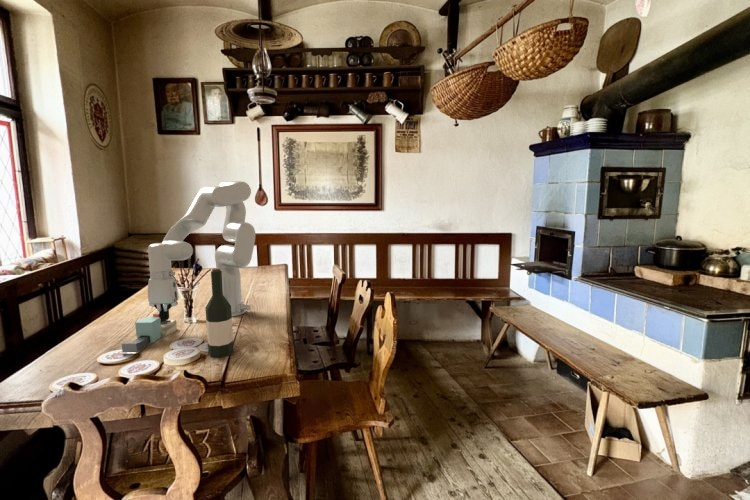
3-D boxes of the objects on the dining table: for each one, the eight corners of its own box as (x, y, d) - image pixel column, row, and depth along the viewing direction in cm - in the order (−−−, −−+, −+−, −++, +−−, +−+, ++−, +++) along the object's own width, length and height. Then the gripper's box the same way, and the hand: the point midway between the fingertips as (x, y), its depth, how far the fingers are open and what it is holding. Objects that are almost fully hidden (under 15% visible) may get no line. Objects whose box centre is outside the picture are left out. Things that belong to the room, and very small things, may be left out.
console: (176, 329, 166) (175, 318, 165) (167, 336, 158) (166, 324, 157) (152, 329, 165) (151, 318, 165) (141, 336, 158) (140, 324, 157)
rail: (162, 336, 157) (161, 326, 156) (137, 354, 140) (136, 343, 139) (149, 336, 157) (148, 326, 156) (122, 354, 140) (121, 343, 139)
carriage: (161, 336, 156) (160, 317, 154) (153, 342, 150) (151, 322, 148) (145, 336, 155) (144, 317, 154) (137, 342, 150) (135, 322, 148)
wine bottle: (218, 359, 136) (213, 272, 131) (203, 354, 140) (197, 269, 136) (238, 351, 143) (234, 267, 138) (223, 346, 147) (218, 265, 143)
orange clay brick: (160, 321, 162) (159, 313, 161) (158, 322, 160) (158, 314, 160) (155, 321, 162) (154, 313, 161) (153, 322, 160) (153, 314, 160)
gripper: (184, 272, 162) (187, 317, 165) (147, 273, 162) (150, 317, 164) (176, 276, 154) (179, 323, 157) (136, 277, 154) (140, 323, 157)
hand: (164, 320), depth 161 cm, fingers closed
